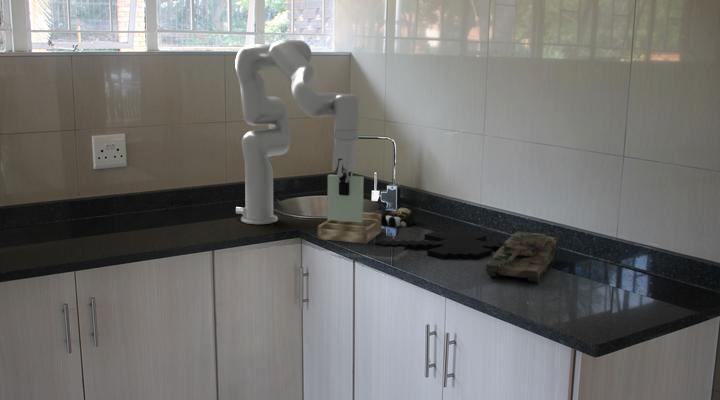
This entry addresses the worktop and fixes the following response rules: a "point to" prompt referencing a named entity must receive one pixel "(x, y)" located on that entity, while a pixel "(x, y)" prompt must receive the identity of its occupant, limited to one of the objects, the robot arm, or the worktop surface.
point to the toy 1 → (397, 217)
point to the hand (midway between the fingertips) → (345, 193)
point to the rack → (351, 230)
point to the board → (345, 200)
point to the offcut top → (352, 223)
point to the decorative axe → (449, 245)
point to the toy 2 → (524, 256)
